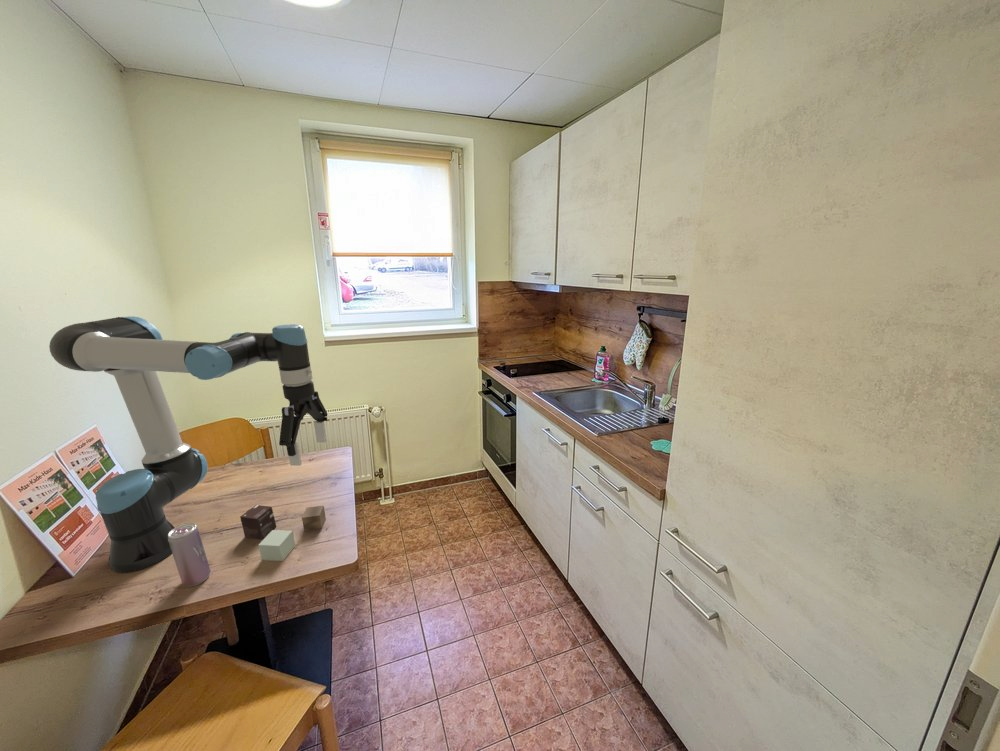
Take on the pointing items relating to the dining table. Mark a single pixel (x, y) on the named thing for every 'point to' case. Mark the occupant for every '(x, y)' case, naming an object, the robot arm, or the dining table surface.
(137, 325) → the robot arm
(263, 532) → the box
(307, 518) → the walnut cube
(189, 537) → the beverage can
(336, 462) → the dining table surface
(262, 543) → the base block
